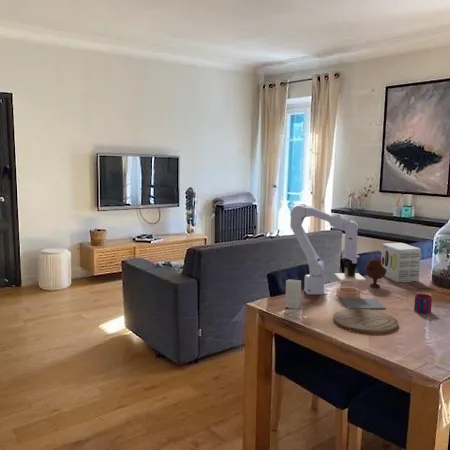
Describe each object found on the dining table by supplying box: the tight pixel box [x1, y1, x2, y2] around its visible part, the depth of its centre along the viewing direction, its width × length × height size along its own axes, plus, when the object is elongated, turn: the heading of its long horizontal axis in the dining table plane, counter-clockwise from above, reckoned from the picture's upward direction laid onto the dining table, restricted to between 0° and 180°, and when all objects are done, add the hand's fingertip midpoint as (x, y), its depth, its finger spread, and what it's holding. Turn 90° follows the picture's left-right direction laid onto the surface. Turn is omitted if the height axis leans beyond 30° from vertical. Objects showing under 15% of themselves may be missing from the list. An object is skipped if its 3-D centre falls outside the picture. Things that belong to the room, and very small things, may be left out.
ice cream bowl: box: [364, 258, 387, 289], centre depth 236 cm, size 11×11×15 cm
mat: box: [340, 298, 386, 310], centre depth 209 cm, size 16×13×1 cm
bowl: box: [336, 286, 361, 299], centre depth 222 cm, size 10×10×3 cm
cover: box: [334, 266, 366, 282], centre depth 220 cm, size 12×12×5 cm
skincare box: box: [285, 278, 302, 310], centre depth 204 cm, size 6×4×12 cm
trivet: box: [332, 308, 399, 335], centre depth 187 cm, size 25×25×2 cm
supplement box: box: [380, 242, 422, 283], centre depth 253 cm, size 17×13×18 cm
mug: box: [413, 293, 433, 315], centre depth 198 cm, size 7×10×7 cm
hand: (349, 274), depth 220 cm, fingers closed on cover, 4 cm apart
